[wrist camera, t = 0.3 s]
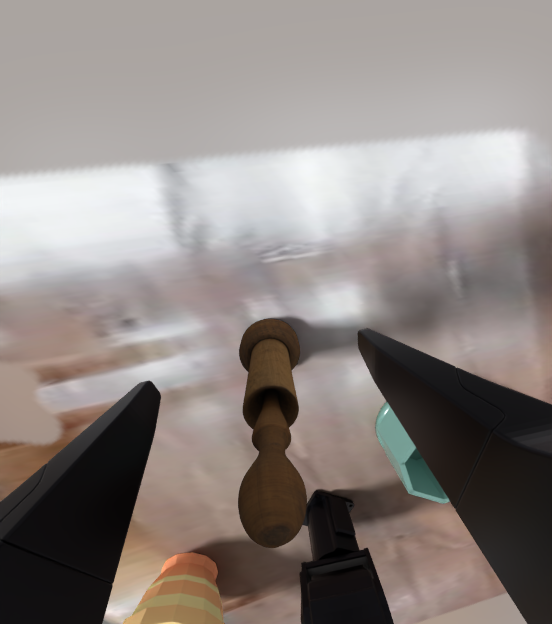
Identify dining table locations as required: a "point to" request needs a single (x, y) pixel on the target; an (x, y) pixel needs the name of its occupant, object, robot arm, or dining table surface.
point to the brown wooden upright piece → (271, 435)
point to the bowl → (406, 458)
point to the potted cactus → (182, 594)
